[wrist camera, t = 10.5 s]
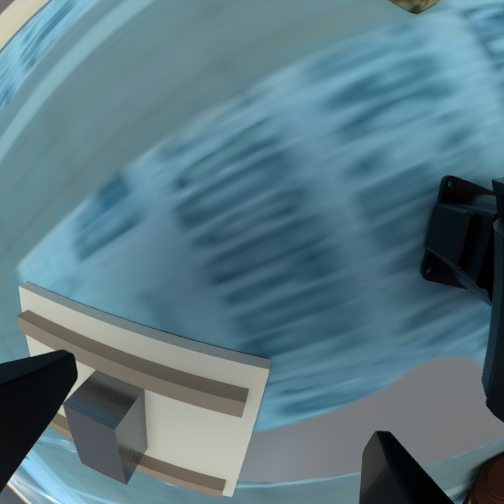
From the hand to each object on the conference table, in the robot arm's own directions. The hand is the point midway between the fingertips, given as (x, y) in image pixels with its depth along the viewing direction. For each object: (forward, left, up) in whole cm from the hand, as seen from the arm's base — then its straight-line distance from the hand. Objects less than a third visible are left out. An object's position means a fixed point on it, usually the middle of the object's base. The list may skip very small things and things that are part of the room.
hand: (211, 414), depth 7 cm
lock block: (+9, +15, -11) cm, 20 cm away
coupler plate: (+9, +15, -12) cm, 21 cm away
